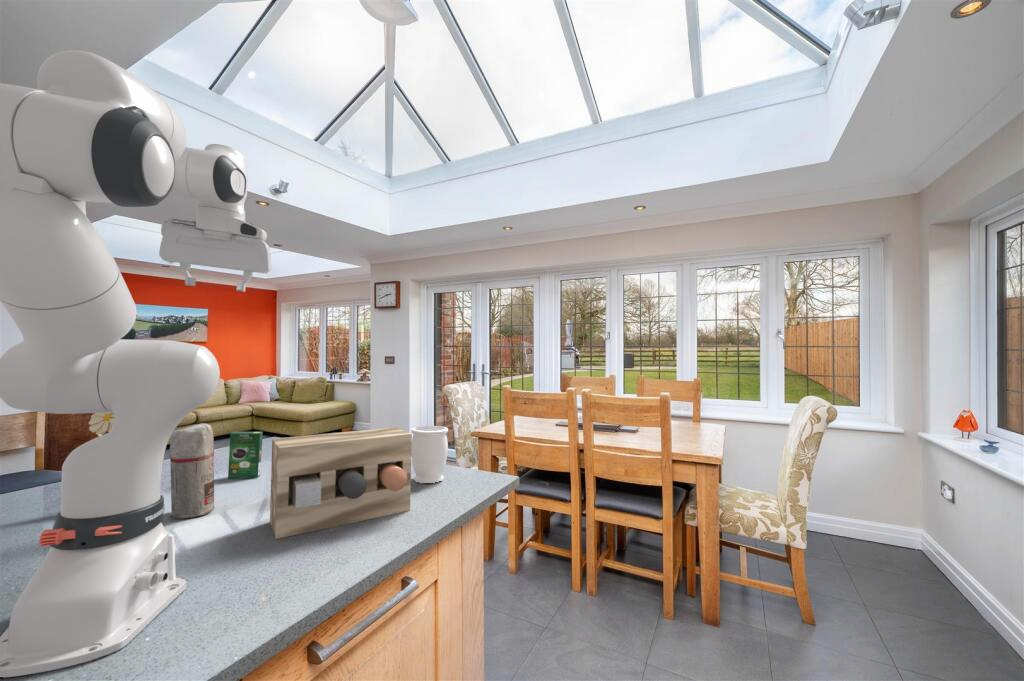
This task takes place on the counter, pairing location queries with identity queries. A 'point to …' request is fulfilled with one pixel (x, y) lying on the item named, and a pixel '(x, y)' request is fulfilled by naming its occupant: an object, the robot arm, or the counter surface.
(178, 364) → the robot arm
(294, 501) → the gray metal cube
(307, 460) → the wooden holder box
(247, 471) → the coffee box
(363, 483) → the dark grey cylinder
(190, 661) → the counter surface
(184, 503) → the paper wrapped package
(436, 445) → the jar
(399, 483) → the terracotta button
